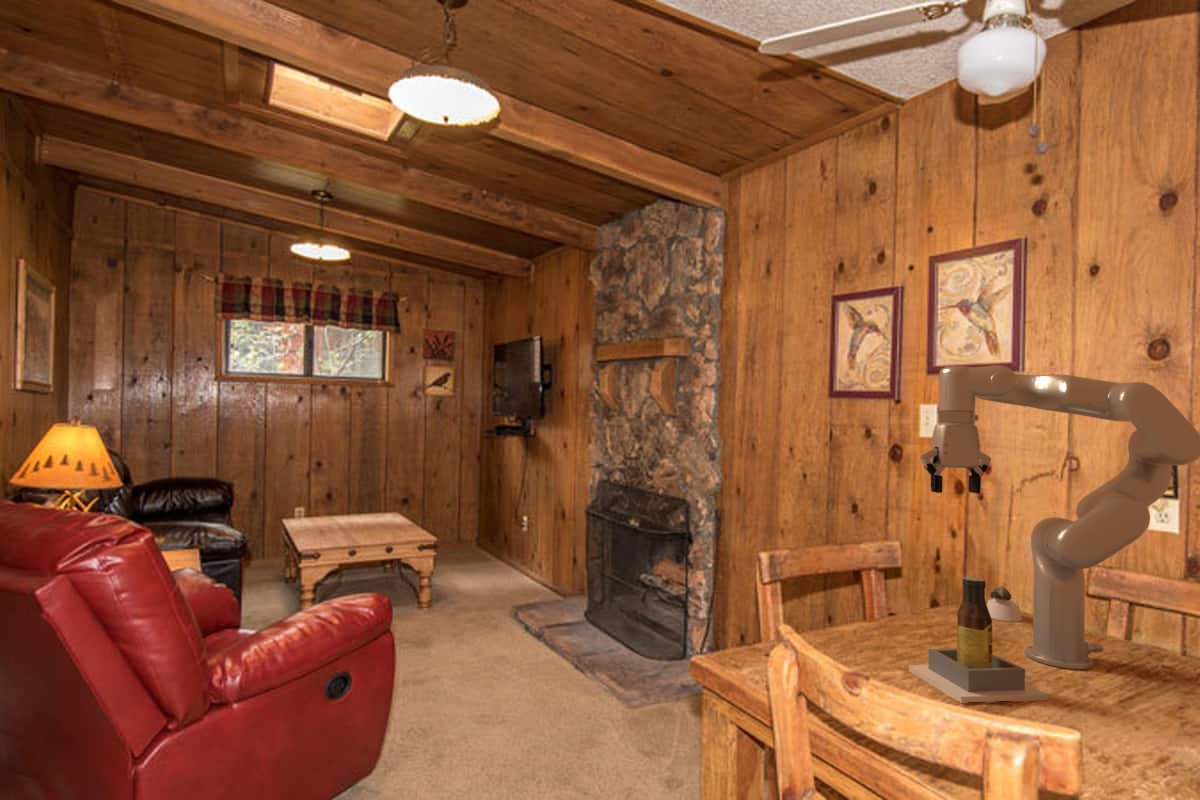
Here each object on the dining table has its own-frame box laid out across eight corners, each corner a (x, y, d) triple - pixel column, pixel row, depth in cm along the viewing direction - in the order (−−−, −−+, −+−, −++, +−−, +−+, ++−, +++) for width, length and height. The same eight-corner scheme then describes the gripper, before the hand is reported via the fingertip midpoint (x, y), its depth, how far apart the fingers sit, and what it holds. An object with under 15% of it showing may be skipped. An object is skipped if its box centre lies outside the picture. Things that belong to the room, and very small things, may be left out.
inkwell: (1021, 615, 186) (1021, 579, 186) (1026, 633, 170) (1026, 593, 171) (983, 610, 190) (983, 575, 191) (984, 626, 175) (984, 588, 175)
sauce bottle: (997, 686, 131) (998, 584, 131) (962, 683, 132) (963, 581, 133) (985, 674, 137) (986, 576, 138) (952, 671, 138) (953, 574, 139)
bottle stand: (986, 668, 144) (986, 644, 144) (1046, 700, 128) (1047, 672, 128) (909, 671, 141) (909, 646, 141) (961, 703, 125) (961, 675, 125)
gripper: (978, 420, 162) (977, 491, 162) (912, 418, 160) (911, 490, 159) (1001, 420, 155) (1000, 494, 154) (933, 418, 152) (931, 494, 152)
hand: (955, 492), depth 157 cm, fingers open, 9 cm apart
